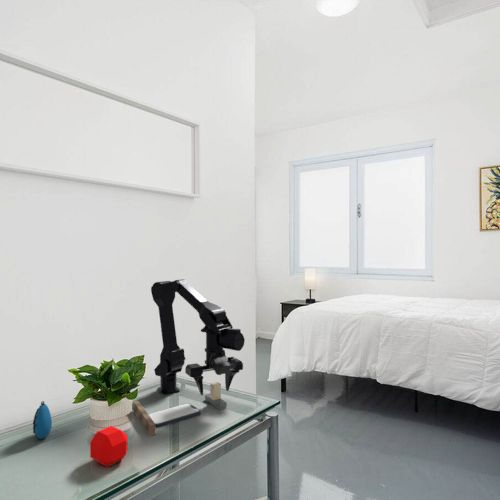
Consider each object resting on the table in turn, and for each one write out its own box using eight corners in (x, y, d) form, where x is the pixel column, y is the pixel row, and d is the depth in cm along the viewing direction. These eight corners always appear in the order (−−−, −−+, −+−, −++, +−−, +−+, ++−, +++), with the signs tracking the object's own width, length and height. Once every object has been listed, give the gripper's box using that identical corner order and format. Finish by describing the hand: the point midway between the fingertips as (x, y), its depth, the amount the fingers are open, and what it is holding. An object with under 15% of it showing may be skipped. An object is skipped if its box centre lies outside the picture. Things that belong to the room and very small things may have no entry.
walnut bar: (133, 410, 139) (133, 401, 138) (138, 409, 139) (138, 400, 139) (150, 435, 121) (150, 425, 121) (155, 434, 122) (155, 424, 121)
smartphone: (155, 430, 126) (202, 415, 136) (155, 425, 126) (202, 410, 136) (142, 420, 133) (188, 407, 143) (142, 415, 133) (188, 402, 143)
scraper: (205, 400, 148) (205, 380, 148) (211, 399, 149) (211, 378, 149) (219, 410, 140) (219, 388, 140) (226, 408, 141) (226, 387, 141)
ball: (133, 459, 108) (132, 429, 108) (104, 473, 101) (104, 441, 101) (113, 450, 113) (113, 421, 112) (85, 462, 106) (85, 431, 106)
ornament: (35, 432, 123) (35, 397, 123) (53, 429, 125) (53, 395, 124) (30, 445, 115) (30, 407, 115) (49, 442, 117) (49, 405, 116)
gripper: (197, 355, 133) (197, 405, 134) (250, 348, 142) (250, 395, 142) (184, 347, 143) (184, 394, 143) (235, 341, 152) (235, 385, 152)
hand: (214, 392), depth 145 cm, fingers open, 9 cm apart
